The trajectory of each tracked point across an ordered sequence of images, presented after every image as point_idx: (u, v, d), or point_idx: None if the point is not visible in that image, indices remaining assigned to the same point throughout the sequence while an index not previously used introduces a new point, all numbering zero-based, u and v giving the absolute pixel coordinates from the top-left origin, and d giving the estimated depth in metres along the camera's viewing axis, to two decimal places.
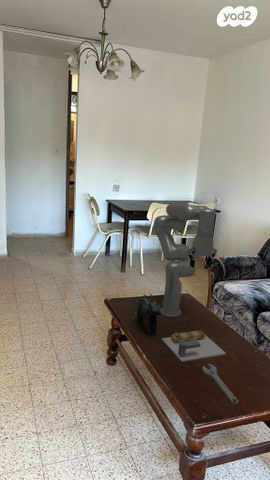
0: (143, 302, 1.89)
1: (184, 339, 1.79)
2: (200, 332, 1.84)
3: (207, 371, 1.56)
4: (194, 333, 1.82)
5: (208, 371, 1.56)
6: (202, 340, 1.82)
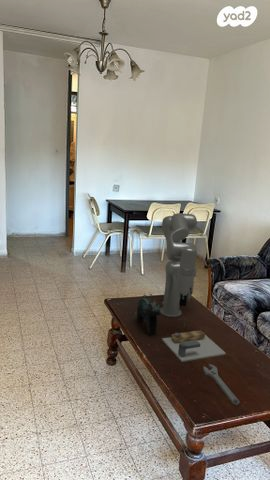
0: (143, 302, 1.89)
1: (184, 339, 1.79)
2: (200, 332, 1.84)
3: (208, 371, 1.56)
4: (194, 333, 1.82)
5: (209, 371, 1.56)
6: (202, 340, 1.82)
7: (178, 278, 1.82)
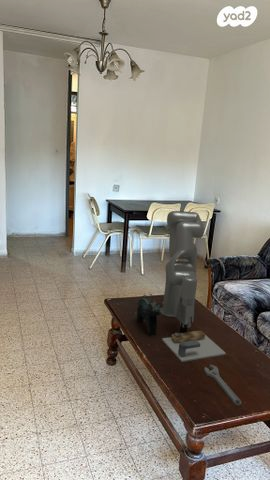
0: (143, 302, 1.89)
1: (184, 339, 1.79)
2: (200, 332, 1.84)
3: (209, 372, 1.55)
4: (194, 333, 1.82)
5: (210, 372, 1.55)
6: (202, 340, 1.82)
7: (178, 306, 1.82)
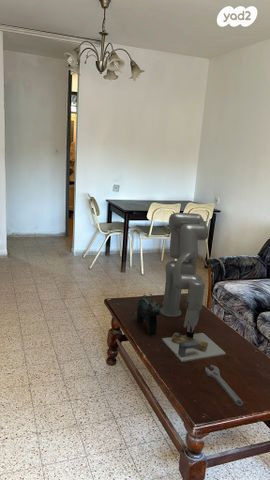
0: (143, 302, 1.89)
1: (181, 341, 1.76)
2: (203, 343, 1.73)
3: (210, 372, 1.55)
4: None
5: (211, 372, 1.55)
6: (202, 340, 1.82)
7: None
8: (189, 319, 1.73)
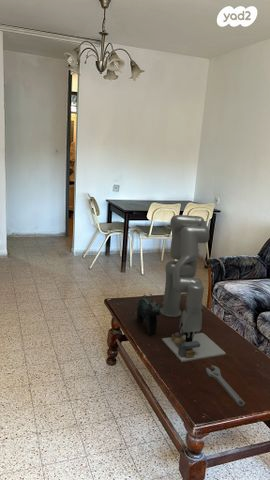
0: (143, 302, 1.89)
1: (175, 341, 1.76)
2: (189, 350, 1.66)
3: (211, 373, 1.55)
4: None
5: (212, 373, 1.55)
6: (202, 340, 1.82)
7: None
8: (182, 320, 1.71)
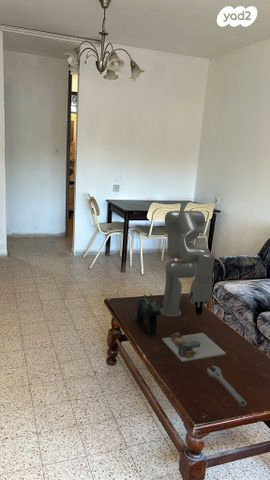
0: (143, 302, 1.89)
1: (175, 341, 1.76)
2: (189, 350, 1.66)
3: (212, 373, 1.54)
4: None
5: (213, 373, 1.55)
6: (202, 340, 1.82)
7: None
8: (192, 290, 1.70)
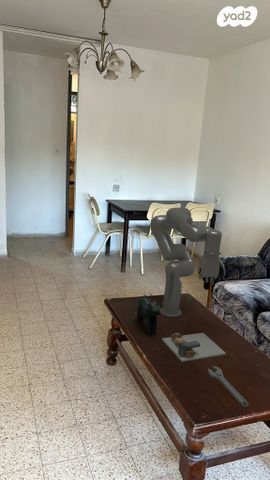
0: (143, 302, 1.89)
1: (175, 341, 1.76)
2: (189, 350, 1.66)
3: (213, 374, 1.54)
4: None
5: (214, 374, 1.54)
6: (202, 340, 1.82)
7: None
8: (200, 266, 1.80)
